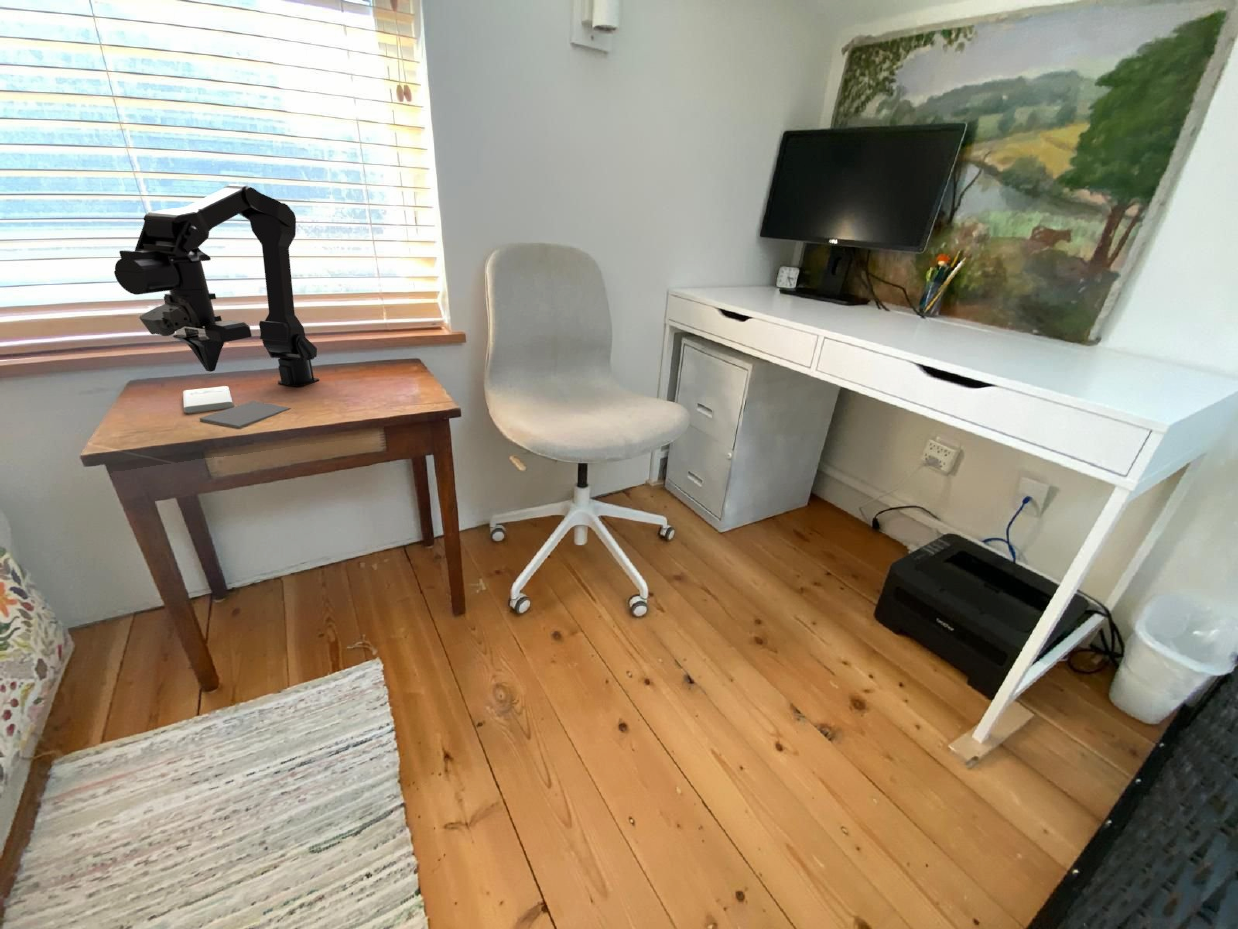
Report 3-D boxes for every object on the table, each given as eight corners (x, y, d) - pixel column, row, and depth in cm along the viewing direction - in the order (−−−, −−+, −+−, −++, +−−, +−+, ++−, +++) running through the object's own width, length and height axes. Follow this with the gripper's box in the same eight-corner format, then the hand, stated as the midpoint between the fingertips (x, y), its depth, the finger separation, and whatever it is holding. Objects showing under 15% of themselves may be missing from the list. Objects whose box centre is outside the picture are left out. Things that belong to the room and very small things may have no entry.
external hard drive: (185, 414, 108) (184, 396, 116) (234, 408, 112) (229, 392, 121) (183, 406, 107) (182, 389, 116) (232, 401, 112) (228, 385, 120)
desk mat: (253, 403, 116) (252, 400, 115) (290, 410, 113) (290, 407, 113) (200, 420, 105) (199, 418, 105) (240, 428, 103) (239, 426, 102)
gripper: (101, 287, 92) (130, 374, 99) (183, 298, 88) (207, 388, 94) (167, 281, 102) (190, 361, 109) (243, 291, 98) (262, 373, 104)
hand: (210, 371), depth 104 cm, fingers closed
